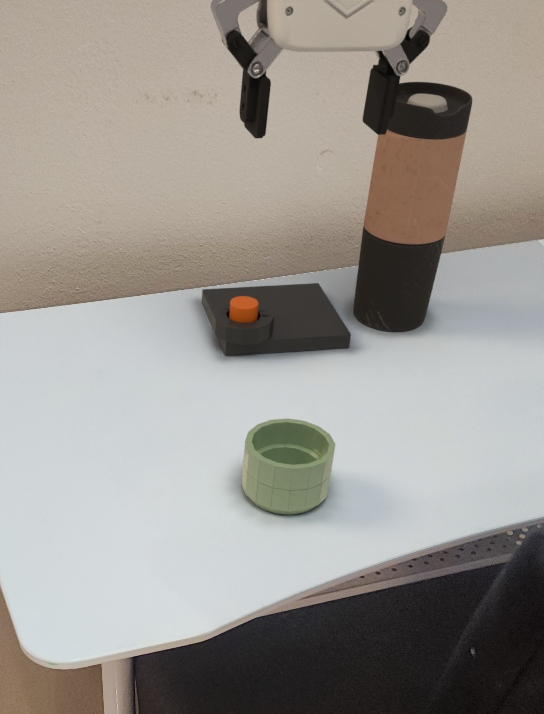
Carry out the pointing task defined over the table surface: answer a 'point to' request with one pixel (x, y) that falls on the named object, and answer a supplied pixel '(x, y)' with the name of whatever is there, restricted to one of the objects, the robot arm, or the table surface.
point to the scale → (277, 320)
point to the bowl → (287, 465)
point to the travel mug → (410, 204)
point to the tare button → (243, 309)
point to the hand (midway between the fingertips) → (314, 130)
